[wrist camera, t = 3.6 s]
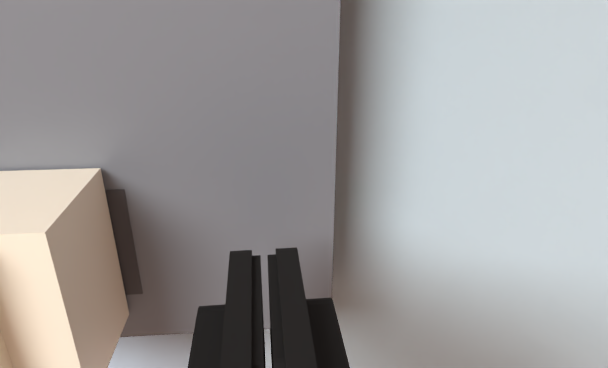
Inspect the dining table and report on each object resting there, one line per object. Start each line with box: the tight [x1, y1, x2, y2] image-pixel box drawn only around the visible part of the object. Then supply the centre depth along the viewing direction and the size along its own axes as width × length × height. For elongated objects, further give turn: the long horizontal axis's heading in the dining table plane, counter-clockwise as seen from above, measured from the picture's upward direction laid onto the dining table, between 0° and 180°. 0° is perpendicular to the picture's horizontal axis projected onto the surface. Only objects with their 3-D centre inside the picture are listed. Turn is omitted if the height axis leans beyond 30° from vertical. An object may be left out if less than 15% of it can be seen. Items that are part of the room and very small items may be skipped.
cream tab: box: [0, 168, 129, 368], centre depth 11 cm, size 4×5×4 cm
